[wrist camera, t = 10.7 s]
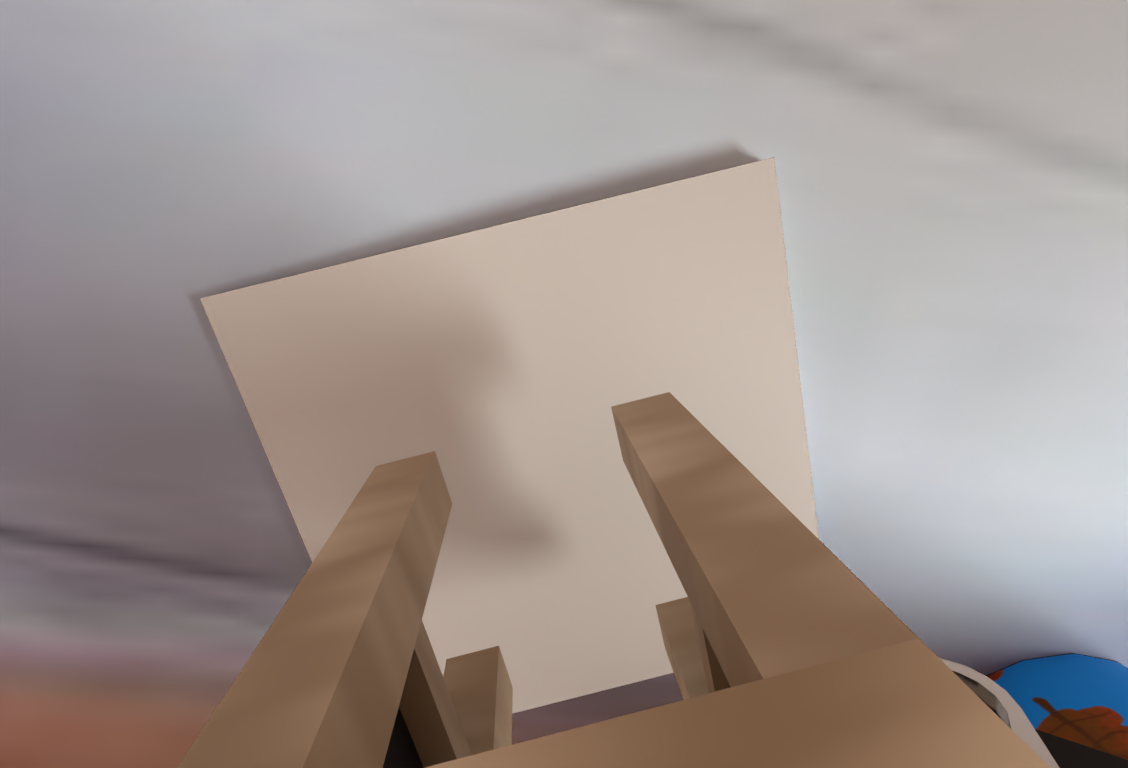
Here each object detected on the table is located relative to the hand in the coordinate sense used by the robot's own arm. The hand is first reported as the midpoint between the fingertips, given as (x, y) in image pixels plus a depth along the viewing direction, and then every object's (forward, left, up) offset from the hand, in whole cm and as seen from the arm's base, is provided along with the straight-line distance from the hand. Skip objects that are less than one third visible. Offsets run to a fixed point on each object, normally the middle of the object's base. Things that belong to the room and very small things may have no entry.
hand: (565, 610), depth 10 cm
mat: (0, 0, -5) cm, 5 cm away
